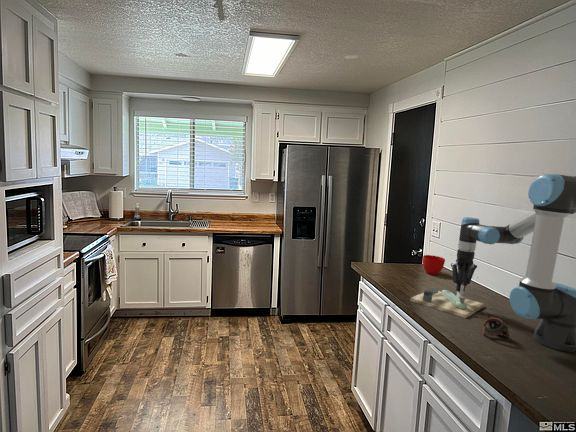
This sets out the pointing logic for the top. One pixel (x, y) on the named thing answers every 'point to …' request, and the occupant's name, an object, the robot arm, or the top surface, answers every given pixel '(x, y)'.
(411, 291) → the top surface
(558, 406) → the top surface
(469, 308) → the base board
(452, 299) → the link
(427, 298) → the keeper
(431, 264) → the ceramic cup
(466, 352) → the top surface
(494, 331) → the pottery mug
